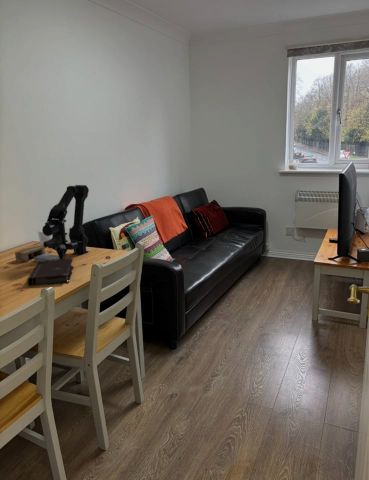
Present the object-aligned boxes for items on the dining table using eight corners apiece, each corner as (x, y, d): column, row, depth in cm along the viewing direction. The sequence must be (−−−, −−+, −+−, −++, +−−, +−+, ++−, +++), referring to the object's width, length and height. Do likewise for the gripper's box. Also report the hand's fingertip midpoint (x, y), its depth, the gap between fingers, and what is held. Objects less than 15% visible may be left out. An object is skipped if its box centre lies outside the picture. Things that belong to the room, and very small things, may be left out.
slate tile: (61, 260, 217) (61, 256, 216) (51, 264, 210) (51, 259, 209) (45, 257, 221) (44, 253, 221) (34, 261, 214) (34, 257, 214)
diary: (27, 287, 177) (26, 277, 176) (37, 270, 201) (36, 261, 200) (70, 284, 180) (69, 273, 179) (75, 267, 204) (74, 258, 203)
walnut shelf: (45, 255, 225) (44, 246, 224) (25, 262, 212) (24, 253, 211) (35, 253, 228) (34, 245, 227) (15, 261, 214) (14, 251, 213)
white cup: (53, 246, 243) (52, 231, 241) (40, 248, 240) (38, 232, 238) (52, 243, 250) (50, 228, 248) (39, 245, 247) (37, 229, 244)
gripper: (34, 233, 204) (37, 262, 208) (64, 236, 197) (66, 266, 201) (49, 229, 214) (52, 256, 218) (77, 231, 207) (80, 260, 211)
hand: (62, 260), depth 212 cm, fingers closed
